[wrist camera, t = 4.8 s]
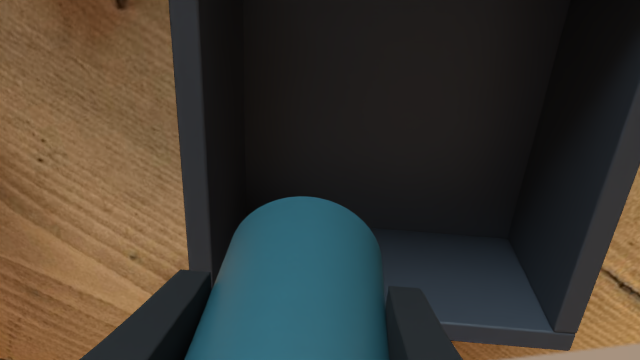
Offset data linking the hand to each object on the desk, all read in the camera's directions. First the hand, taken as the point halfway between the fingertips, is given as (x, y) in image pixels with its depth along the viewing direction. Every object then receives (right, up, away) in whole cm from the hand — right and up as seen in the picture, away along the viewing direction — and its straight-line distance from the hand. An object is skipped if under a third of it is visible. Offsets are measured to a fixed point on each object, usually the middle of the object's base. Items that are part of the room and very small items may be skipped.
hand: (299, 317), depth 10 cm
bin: (+3, +6, +7) cm, 10 cm away
